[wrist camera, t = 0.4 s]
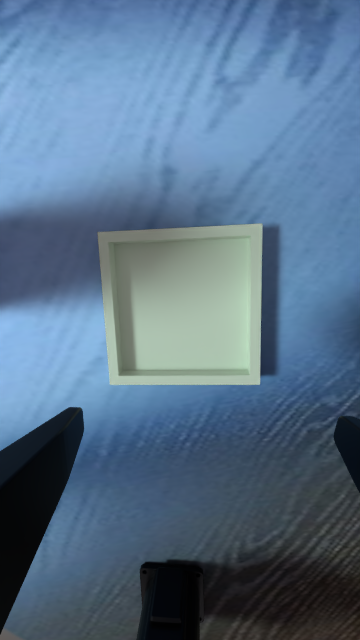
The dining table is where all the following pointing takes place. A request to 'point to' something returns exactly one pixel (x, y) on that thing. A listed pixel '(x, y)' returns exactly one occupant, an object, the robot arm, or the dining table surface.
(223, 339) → the tray
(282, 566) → the dining table surface
